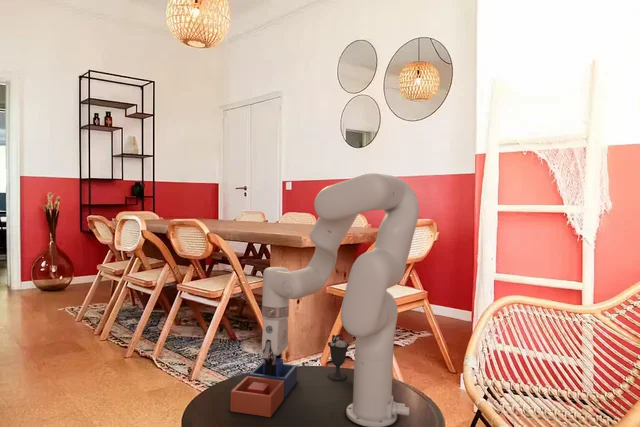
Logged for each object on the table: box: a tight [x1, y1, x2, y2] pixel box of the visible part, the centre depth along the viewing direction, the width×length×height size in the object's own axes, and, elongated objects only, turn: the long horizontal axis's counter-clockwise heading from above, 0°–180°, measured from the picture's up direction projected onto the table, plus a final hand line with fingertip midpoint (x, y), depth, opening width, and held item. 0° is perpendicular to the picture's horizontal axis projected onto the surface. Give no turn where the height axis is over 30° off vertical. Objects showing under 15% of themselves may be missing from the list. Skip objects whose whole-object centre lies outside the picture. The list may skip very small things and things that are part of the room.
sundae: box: [327, 328, 351, 381], centre depth 141 cm, size 7×7×15 cm
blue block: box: [263, 356, 284, 377], centre depth 133 cm, size 4×4×4 cm
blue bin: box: [248, 360, 298, 398], centre depth 133 cm, size 11×11×5 cm
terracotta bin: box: [230, 375, 285, 418], centre depth 121 cm, size 11×11×5 cm
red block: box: [247, 382, 269, 395], centre depth 121 cm, size 4×4×4 cm
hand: (273, 374), depth 133 cm, fingers closed on blue block, 4 cm apart
